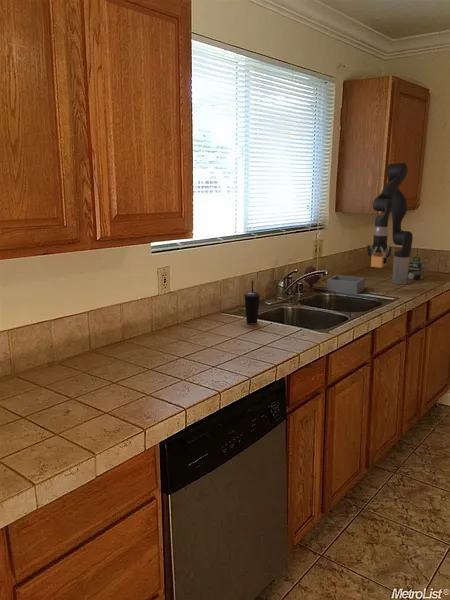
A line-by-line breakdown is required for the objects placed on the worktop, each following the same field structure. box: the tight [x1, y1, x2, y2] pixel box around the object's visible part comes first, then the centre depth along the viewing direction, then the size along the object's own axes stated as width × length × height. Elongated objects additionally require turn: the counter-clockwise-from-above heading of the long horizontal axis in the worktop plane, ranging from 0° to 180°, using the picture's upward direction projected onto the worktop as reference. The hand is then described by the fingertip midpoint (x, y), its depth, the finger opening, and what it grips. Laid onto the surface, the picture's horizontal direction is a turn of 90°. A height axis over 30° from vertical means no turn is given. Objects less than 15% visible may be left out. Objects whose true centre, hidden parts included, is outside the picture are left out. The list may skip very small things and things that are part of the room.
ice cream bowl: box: [301, 265, 322, 293], centre depth 303 cm, size 11×11×15 cm
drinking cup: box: [243, 280, 261, 324], centre depth 236 cm, size 8×8×20 cm
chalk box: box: [408, 256, 425, 281], centre depth 340 cm, size 9×9×15 cm
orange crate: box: [370, 253, 387, 269], centre depth 294 cm, size 10×6×6 cm, turn 149°
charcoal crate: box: [326, 274, 366, 295], centre depth 306 cm, size 16×18×7 cm
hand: (378, 263), depth 295 cm, fingers closed on orange crate, 6 cm apart
